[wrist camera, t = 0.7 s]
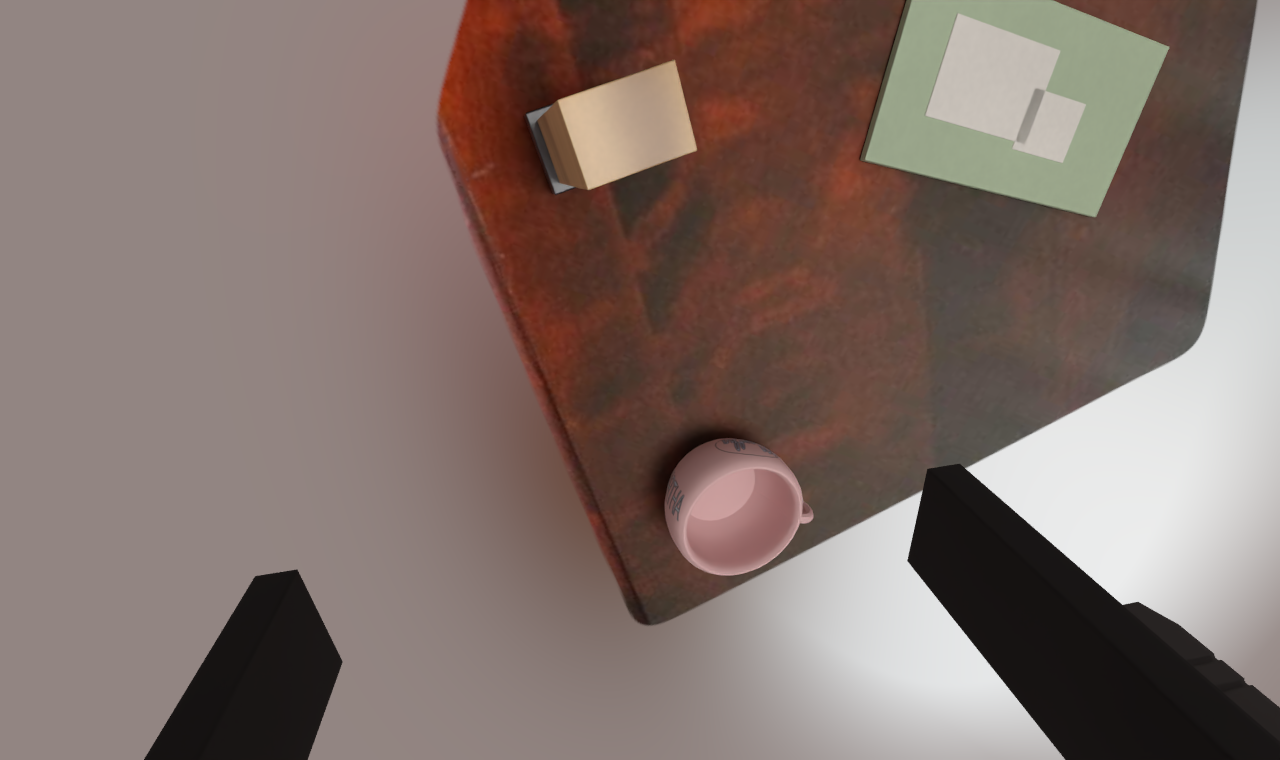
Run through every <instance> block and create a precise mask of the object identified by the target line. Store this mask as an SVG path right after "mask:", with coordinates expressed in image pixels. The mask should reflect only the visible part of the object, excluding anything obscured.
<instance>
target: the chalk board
mask: <svg viewBox="0 0 1280 760" xmlns="http://www.w3.org/2000/svg"><path fill="white" fill-rule="evenodd" d="M1168 49H1169V47H1168V46H1165V45H1163V44H1160V43H1158V42H1155V41H1153V40H1150V39H1148V38H1145V37H1143V36H1140V35H1138V34H1135V33H1133V32H1130V31H1128V30H1125V29H1123V28H1120V27H1118V26H1115V25H1113V24H1110V23H1108V22H1105V21H1103V20H1100V19H1098V18H1095V17H1093V16H1090V15H1088V14H1085V13H1083V12H1080V11H1078V10H1075V9H1073V8H1070V7H1068V6H1065V5H1063V4H1060V3H1058V2H1055V1H1053V0H906V3H905V7H904V10H903V14H902V17H901V21H900V24H899V28H898V31H897V34H896V38H895V41H894V45H893V48H892V52H891V55H890V58H889V62H888V65H887V69H886V72H885V76H884V79H883V82H882V86H881V89H880V93H879V96H878V100H877V103H876V106H875V110H874V113H873V117H872V120H871V124H870V127H869V130H868V134H867V137H866V141H865V144H864V148H863V151H862V154H861V158H860V160H861V161H864V162H869V163H873V164H877V165H881V166H885V167H889V168H893V169H897V170H901V171H905V172H909V173H913V174H917V175H921V176H925V177H929V178H934V179H938V180H942V181H946V182H950V183H954V184H958V185H962V186H966V187H970V188H974V189H978V190H982V191H986V192H990V193H994V194H998V195H1003V196H1007V197H1011V198H1015V199H1019V200H1023V201H1027V202H1031V203H1035V204H1039V205H1043V206H1047V207H1051V208H1055V209H1059V210H1063V211H1068V212H1072V213H1076V214H1080V215H1084V216H1088V217H1096V215H1097V213H1098V211H1099V208H1100V206H1101V204H1102V202H1103V199H1104V197H1105V195H1106V192H1107V190H1108V188H1109V185H1110V183H1111V181H1112V178H1113V176H1114V174H1115V172H1116V169H1117V167H1118V165H1119V162H1120V160H1121V158H1122V155H1123V153H1124V151H1125V148H1126V146H1127V144H1128V141H1129V139H1130V137H1131V135H1132V132H1133V130H1134V128H1135V125H1136V123H1137V121H1138V118H1139V116H1140V114H1141V111H1142V109H1143V107H1144V105H1145V102H1146V100H1147V98H1148V95H1149V93H1150V91H1151V88H1152V86H1153V84H1154V81H1155V79H1156V77H1157V75H1158V72H1159V70H1160V68H1161V65H1162V63H1163V61H1164V58H1165V56H1166V54H1167V51H1168Z"/></svg>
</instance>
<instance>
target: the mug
mask: <svg viewBox="0 0 1280 760" xmlns="http://www.w3.org/2000/svg"><path fill="white" fill-rule="evenodd" d="M665 517H666V523H667V526H668V529H669V532H670V534H671V537H672V539H673V541H674V542H675V544H676V546H677V547H678V549H679V550H680V552H681V553H682V555H683V556H684V557H685V558H686V559H687V560H688V561H689V562H690V563H691V564H693V565H694V566H695V567H697V568H699V569H701V570H703V571H705V572H708V573H712V574H716V575H737V574H743V573H746V572H749V571H752V570H755V569H757V568H759V567H761V566H763V565H765V564H767V563H768V562H769V561H771V560H772V559H773V558H775V557H776V556H777V555H778V554H779V553H780V552H781V551H782V550H783V549H784V548H785V547H786V546H787V545H788V543H789V542H790V541H791V539H792V538H793V537H794V535H795V533H796V531H797V529H798V526H799V524H800V523H809V522H810V521H811V520H812V519H813V511H812V509H811V508H810V506H809V505H808V504H806V503H805V502H804V501H803V498H802V492H801V488H800V486H799V483H798V481H797V479H796V477H795V476H794V474H793V472H792V471H791V470H790V469H789V468H788V466H787V465H786V464H785V463H784V462H783V461H782V459H781V458H779V457H778V456H777V455H776V454H775V453H773V452H772V451H770V450H769V449H767V448H766V447H764V446H762V445H760V444H757V443H754V442H751V441H747V440H741V439H733V438H723V439H716V440H713V441H709V442H706V443H704V444H702V445H700V446H698V447H696V448H694V449H693V450H692V451H690V452H689V453H688V454H686V456H685V457H684V458H683V459H682V460H681V461H680V462H679V463H678V465H677V466H676V468H675V469H674V471H673V472H672V474H671V477H670V479H669V482H668V486H667V492H666V497H665Z"/></svg>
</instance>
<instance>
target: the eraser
mask: <svg viewBox="0 0 1280 760" xmlns="http://www.w3.org/2000/svg"><path fill="white" fill-rule="evenodd" d="M524 118H525V121H526V124H527V126H528V129H529V132H530V134H531V137H532V140H533V143H534V145H535V148H536V151H537V153H538V156H539V159H540V162H541V164H542V167H543V170H544V172H545V175H546V178H547V181H548V183H549V186H550V189H551V191H552V193H553V194H555V195H557V194H560V193H563V192H565V191H568V190H571V189H574V188H576V187H577V188H581V189H585V190H591V189H593V188H596V187H599V186H602V185H604V184H607V183H610V182H613V181H615V180H618V179H621V178H624V177H626V176H629V175H632V174H635V173H637V172H640V171H643V170H646V169H648V168H651V167H654V166H657V165H659V164H662V163H665V162H668V161H670V160H673V159H676V158H678V157H681V156H684V155H687V154H689V153H692V152H695V151H697V147H696V143H695V139H694V135H693V131H692V127H691V123H690V119H689V115H688V111H687V107H686V103H685V99H684V95H683V91H682V87H681V83H680V79H679V75H678V71H677V67H676V63H675V60H672V61H669V62H666V63H663V64H661V65H658V66H655V67H652V68H649V69H646V70H643V71H640V72H637V73H634V74H631V75H629V76H626V77H623V78H620V79H617V80H614V81H611V82H608V83H605V84H602V85H599V86H597V87H594V88H591V89H588V90H585V91H582V92H579V93H576V94H573V95H570V96H567V97H564V98H562V99H559V100H557V101H556V102H555V103H553V104H551V105H548V106H545V107H542V108H539V109H536V110H533V111H530V112H527V113H526V114H525V115H524Z"/></svg>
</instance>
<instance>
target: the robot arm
mask: <svg viewBox="0 0 1280 760" xmlns="http://www.w3.org/2000/svg"><path fill="white" fill-rule="evenodd" d="M908 562H909V563H910V564H911V566H912V567H913V568H914V570H915V571H916V572H917V574H918V575H919V576H920V577H921V579H922V580H923V581H924V582H925V584H926V585H927V586H928V587H929V589H930V590H931V591H932V592H933V594H934V595H935V596H936V597H937V599H938V600H939V601H940V602H941V604H942V605H943V606H944V607H945V609H946V610H947V611H948V613H949V614H950V615H951V616H952V618H953V619H954V620H955V621H956V623H957V624H958V625H959V626H960V628H961V629H962V630H963V631H964V633H965V634H966V635H967V636H968V638H969V639H970V640H971V641H972V643H973V644H974V645H975V646H976V648H977V649H978V650H979V651H980V653H981V654H982V655H983V657H984V658H985V659H986V660H987V662H988V663H989V664H990V665H991V667H992V668H993V669H994V670H995V672H996V673H997V674H998V675H999V677H1000V678H1001V679H1002V680H1003V682H1004V683H1005V684H1006V686H1007V687H1008V688H1009V689H1010V691H1011V692H1012V693H1013V694H1014V695H1015V697H1016V698H1017V699H1018V701H1019V702H1020V703H1021V704H1022V706H1023V707H1024V708H1025V709H1026V711H1027V712H1028V713H1029V714H1030V716H1031V717H1032V718H1033V720H1034V721H1035V722H1036V723H1037V725H1038V726H1039V727H1040V728H1041V730H1042V731H1043V732H1044V733H1045V735H1046V736H1047V737H1048V738H1049V740H1050V741H1051V742H1052V743H1053V744H1054V746H1055V747H1056V748H1057V750H1058V751H1059V752H1060V753H1061V755H1062V756H1063V757H1064V758H1065V760H1280V708H1279V707H1278V706H1277V705H1276V704H1275V703H1273V702H1272V701H1271V700H1270V699H1269V698H1267V697H1266V696H1265V695H1263V694H1262V693H1261V692H1260V691H1259V690H1258V689H1256V688H1255V687H1254V686H1253V685H1247V684H1246V683H1245V681H1244V678H1243V677H1242V676H1240V675H1239V674H1238V673H1237V672H1236V671H1234V670H1233V669H1232V668H1231V667H1230V666H1228V665H1227V664H1226V663H1225V662H1224V661H1222V660H1217V659H1216V658H1215V656H1214V653H1213V652H1211V651H1210V650H1209V649H1208V648H1206V647H1205V646H1204V645H1203V644H1202V643H1200V642H1199V641H1198V640H1197V639H1196V638H1194V637H1193V636H1192V635H1191V634H1189V633H1188V632H1187V631H1186V630H1185V629H1183V628H1182V627H1181V626H1180V625H1178V624H1176V623H1175V622H1173V621H1171V620H1169V619H1168V618H1166V617H1164V616H1162V615H1160V614H1159V613H1157V612H1155V611H1153V610H1151V609H1150V608H1148V607H1146V606H1144V605H1143V604H1141V603H1139V602H1135V603H1130V604H1125V605H1122V604H1121V603H1120V602H1118V601H1117V600H1116V599H1115V598H1114V597H1112V596H1111V595H1110V594H1109V593H1108V592H1107V591H1106V590H1105V589H1103V588H1102V587H1101V586H1100V585H1099V584H1098V583H1096V582H1095V581H1094V580H1093V579H1092V578H1091V577H1090V576H1088V575H1087V574H1086V573H1085V572H1084V571H1083V570H1081V569H1080V568H1079V567H1078V566H1077V565H1076V564H1075V563H1073V562H1072V561H1071V560H1070V559H1069V558H1067V557H1066V556H1065V555H1064V554H1063V553H1062V552H1061V551H1060V550H1058V549H1057V548H1056V547H1055V546H1054V545H1053V544H1052V543H1050V542H1049V541H1048V540H1047V539H1046V538H1045V537H1043V536H1042V535H1041V534H1040V533H1039V532H1038V531H1036V530H1035V529H1034V528H1033V527H1032V526H1031V525H1030V524H1028V523H1027V522H1026V521H1025V520H1024V519H1023V518H1022V517H1020V516H1019V515H1018V514H1017V513H1015V511H1013V510H1012V509H1011V508H1010V507H1009V506H1008V505H1007V504H1005V503H1004V502H1003V501H1002V500H1001V499H1000V498H998V497H997V496H996V495H995V494H994V493H992V491H990V490H989V489H988V488H987V487H986V486H985V485H984V484H982V483H981V482H980V481H979V480H978V479H977V478H975V477H974V476H973V475H972V474H971V473H970V472H969V471H967V470H966V469H965V468H964V467H963V466H962V465H960V464H955V465H949V466H943V467H937V468H930V469H927V474H926V478H925V483H924V487H923V492H922V497H921V501H920V506H919V511H918V515H917V519H916V524H915V529H914V533H913V538H912V542H911V547H910V552H909V557H908ZM341 665H342V660H341V658H340V655H339V654H338V651H337V650H336V647H335V645H334V644H333V641H332V639H331V637H330V635H329V633H328V631H327V629H326V627H325V625H324V623H323V621H322V619H321V617H320V615H319V613H318V611H317V609H316V607H315V605H314V603H313V601H312V598H311V596H310V594H309V592H308V591H307V588H306V586H305V584H304V582H303V580H302V578H301V576H300V574H299V572H298V570H292V571H286V572H280V573H273V574H266V575H261V576H255V578H254V579H253V581H252V582H251V584H250V586H249V587H248V589H247V591H246V593H245V594H244V596H243V597H242V599H241V601H240V602H239V604H238V606H237V607H236V609H235V611H234V612H233V614H232V615H231V617H230V619H229V621H228V622H227V624H226V625H225V627H224V629H223V631H222V632H221V634H220V635H219V637H218V638H217V640H216V642H215V644H214V645H213V647H212V649H211V650H210V652H209V654H208V655H207V657H206V658H205V660H204V662H203V663H202V665H201V667H200V668H199V670H198V671H197V673H196V675H195V676H194V678H193V680H192V681H191V683H190V685H189V686H188V688H187V690H186V691H185V693H184V695H183V696H182V698H181V700H180V701H179V703H178V704H177V706H176V708H175V709H174V711H173V713H172V714H171V716H170V718H169V719H168V721H167V723H166V724H165V726H164V728H163V729H162V731H161V732H160V734H159V736H158V737H157V739H156V741H155V742H154V744H153V746H152V747H151V749H150V751H149V752H148V754H147V756H146V757H145V759H144V760H308V757H309V754H310V751H311V749H312V745H313V743H314V740H315V737H316V735H317V731H318V729H319V726H320V723H321V721H322V718H323V715H324V712H325V710H326V706H327V704H328V701H329V698H330V695H331V693H332V690H333V687H334V684H335V682H336V679H337V676H338V673H339V670H340V667H341Z"/></svg>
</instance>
